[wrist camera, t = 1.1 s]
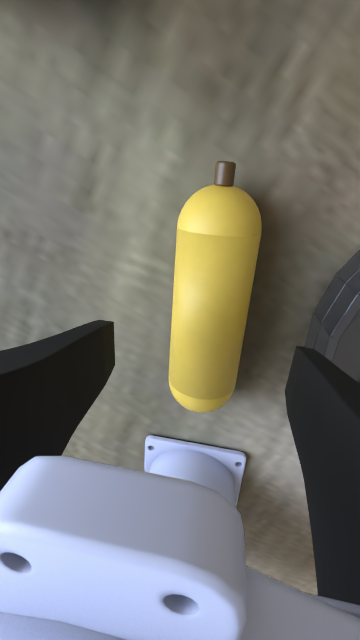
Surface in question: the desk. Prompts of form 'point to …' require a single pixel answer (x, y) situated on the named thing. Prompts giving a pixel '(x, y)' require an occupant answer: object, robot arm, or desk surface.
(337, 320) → the pan
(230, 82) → the desk surface
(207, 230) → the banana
